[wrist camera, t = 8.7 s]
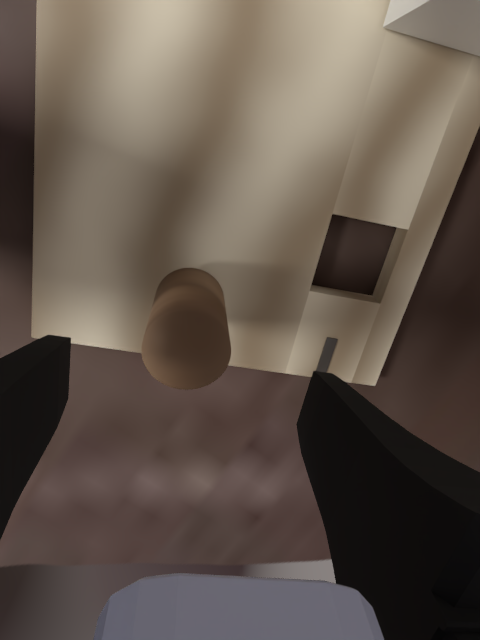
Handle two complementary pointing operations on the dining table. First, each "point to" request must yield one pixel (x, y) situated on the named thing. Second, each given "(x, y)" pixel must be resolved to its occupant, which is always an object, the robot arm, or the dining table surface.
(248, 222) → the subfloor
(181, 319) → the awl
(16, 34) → the dining table surface
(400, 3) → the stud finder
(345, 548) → the robot arm
